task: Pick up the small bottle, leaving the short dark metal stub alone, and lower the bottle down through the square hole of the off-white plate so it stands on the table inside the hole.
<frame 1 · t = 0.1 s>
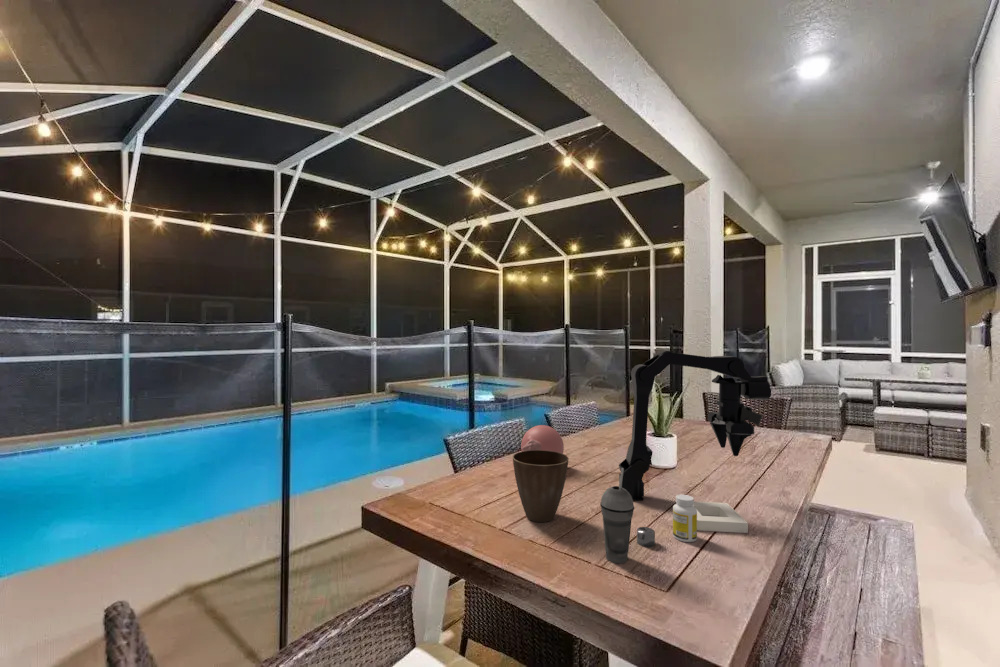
hand: (729, 451, 132), 15 cm above the table, fingers open, 9 cm apart
beverage cup: (616, 559, 98), on the table
balloon: (538, 469, 161), on the table
short metal stub: (645, 543, 105), on the table
plant pot: (539, 517, 120), on the table
supplement bottle: (684, 538, 108), on the table
hole plate: (710, 520, 118), on the table
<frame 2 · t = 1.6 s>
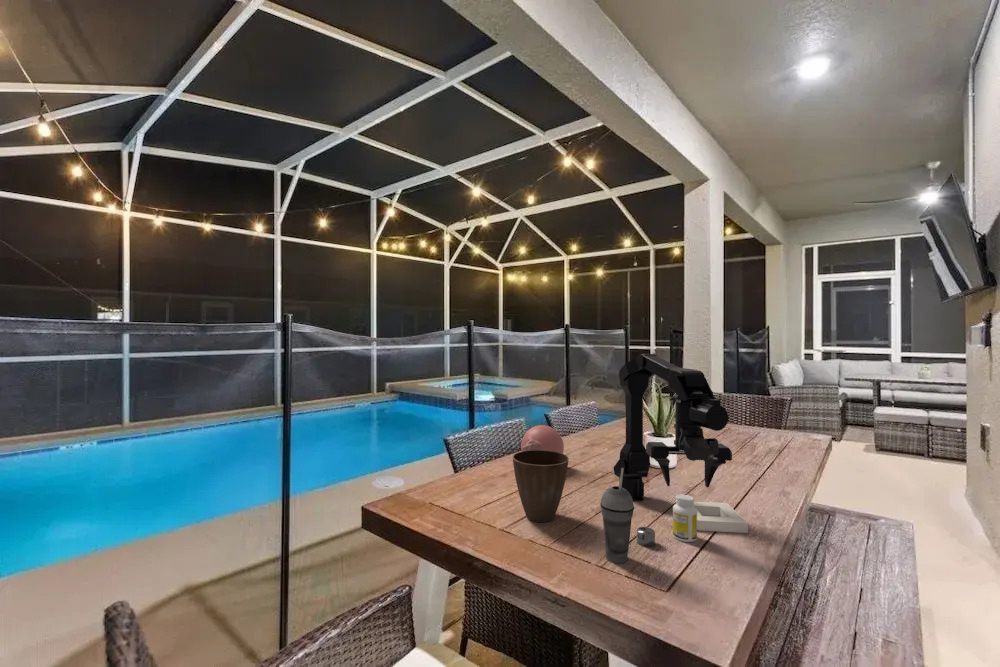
hand: (687, 486, 109), 12 cm above the table, fingers open, 9 cm apart
nothing on the table moved.
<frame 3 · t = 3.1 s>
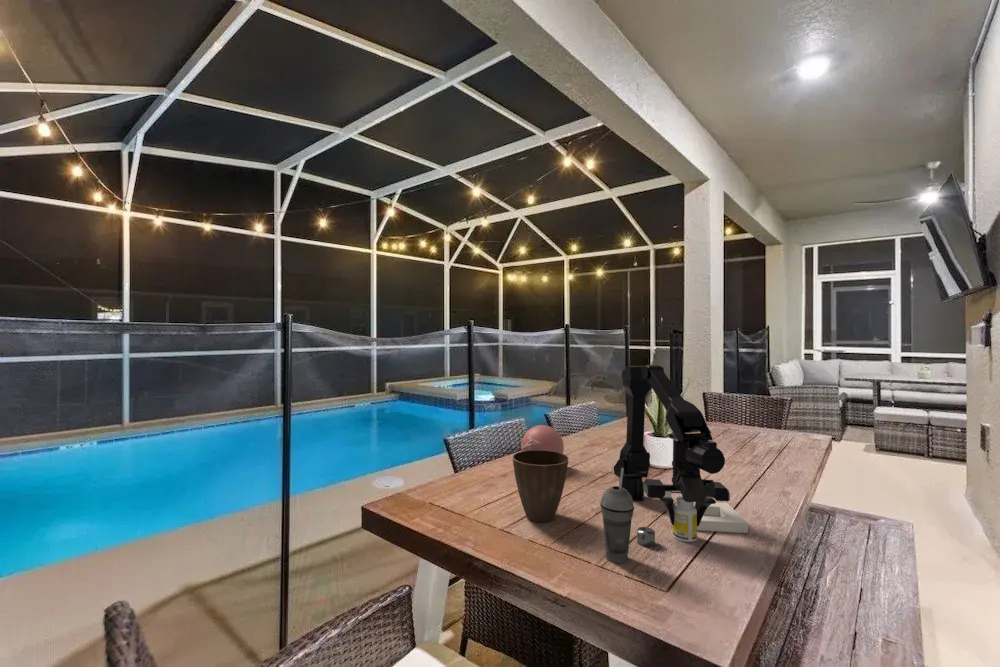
hand: (684, 525, 108), 3 cm above the table, fingers closed on supplement bottle, 5 cm apart
supplement bottle: (684, 538, 108), on the table, touching gripper
everything else where it was.
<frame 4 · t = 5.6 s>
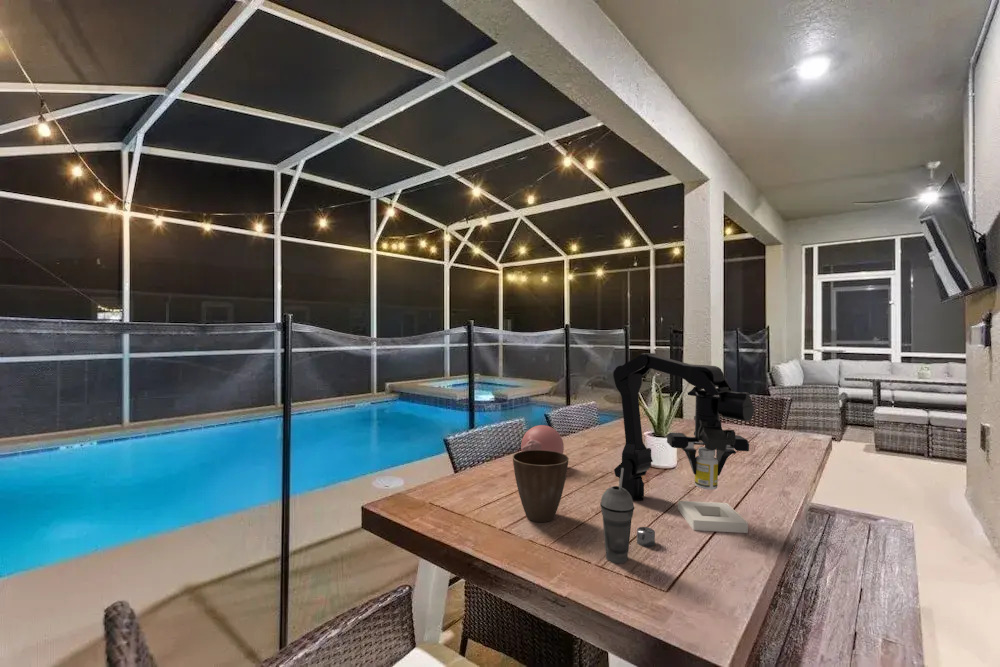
hand: (706, 474, 116), 13 cm above the table, fingers closed on supplement bottle, 5 cm apart
supplement bottle: (705, 487, 116), point 10 cm above the table, touching gripper
everything else where it was.
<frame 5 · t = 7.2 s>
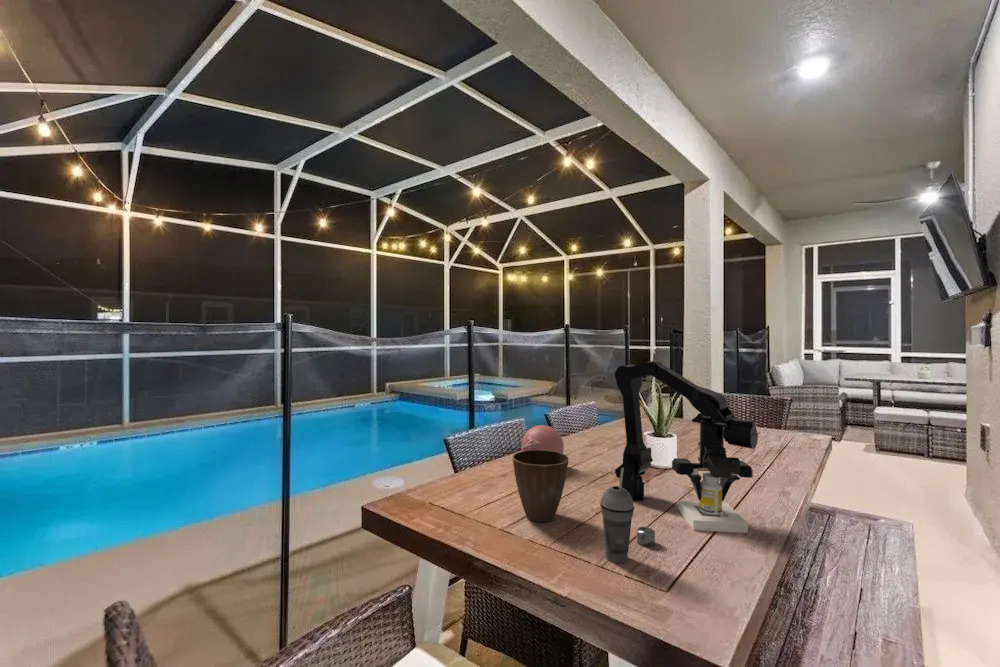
hand: (710, 500, 118), 5 cm above the table, fingers closed on supplement bottle, 5 cm apart
supplement bottle: (710, 512, 118), point 2 cm above the table, touching gripper
everything else where it was.
when the fingers open (4 cm above the table, at t = 8.3 s): supplement bottle stays where it is, resting in hole plate.
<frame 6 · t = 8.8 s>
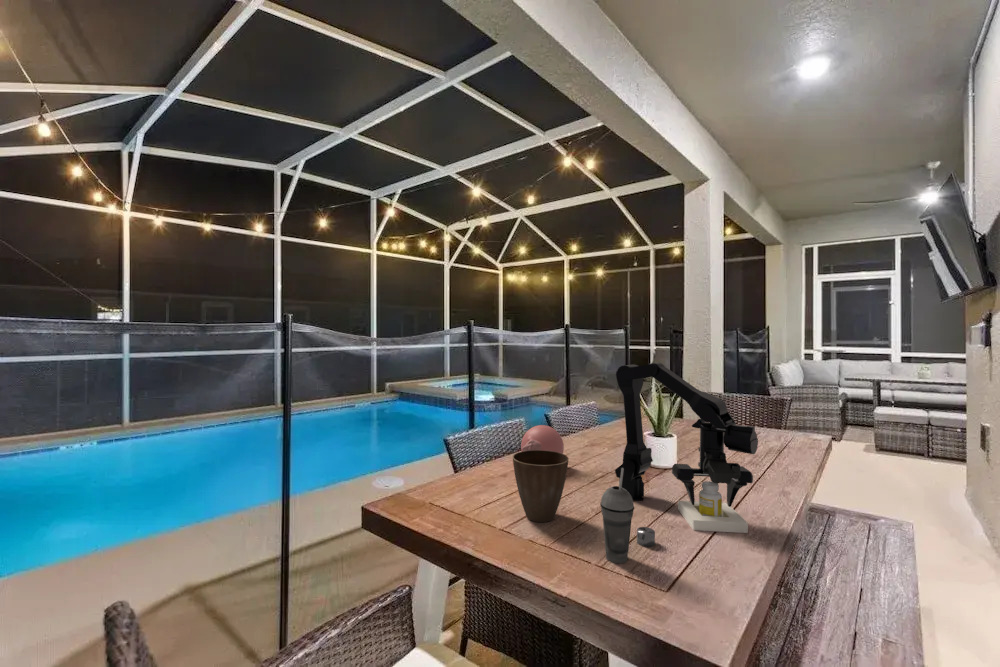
hand: (710, 505, 118), 4 cm above the table, fingers open, 9 cm apart
supplement bottle: (710, 521, 118), resting in hole plate
everything else where it was.
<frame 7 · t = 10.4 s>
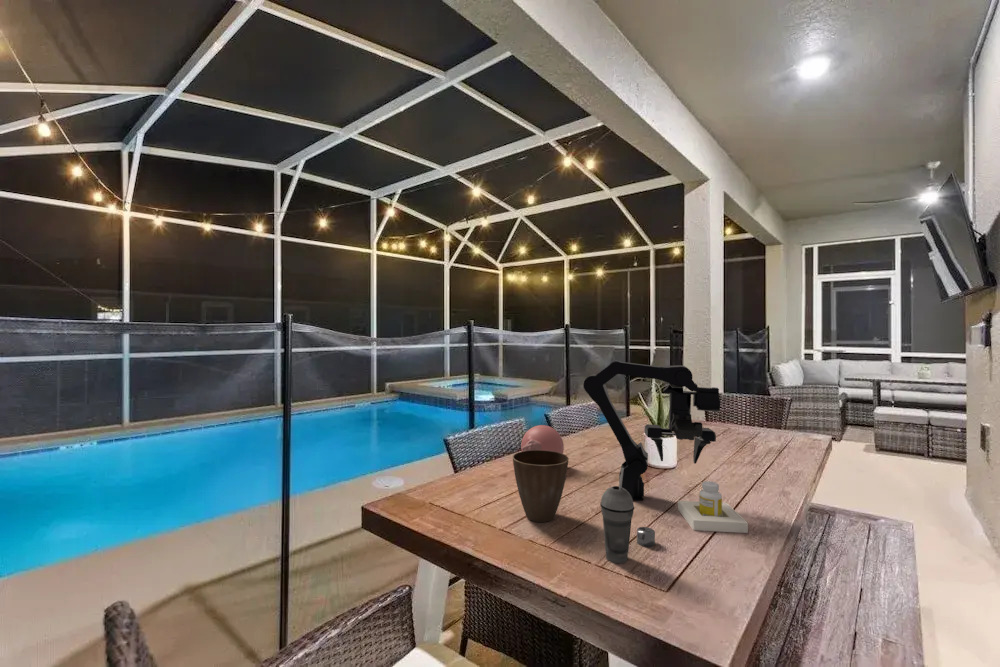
hand: (678, 462, 131), 12 cm above the table, fingers open, 9 cm apart
nothing on the table moved.
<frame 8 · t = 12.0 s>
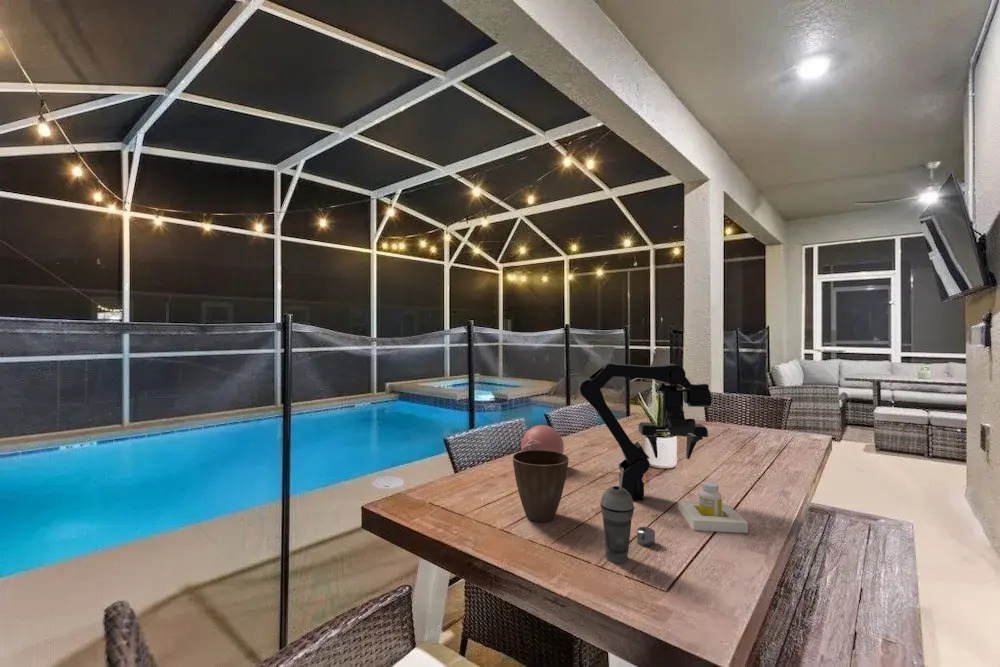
hand: (672, 458, 134), 12 cm above the table, fingers open, 9 cm apart
nothing on the table moved.
at the end: supplement bottle 0.1 cm off-centre on the hole plate, point 0.0 cm above the hole plate's base; supplement bottle tilted 0°; the gripper is holding nothing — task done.
